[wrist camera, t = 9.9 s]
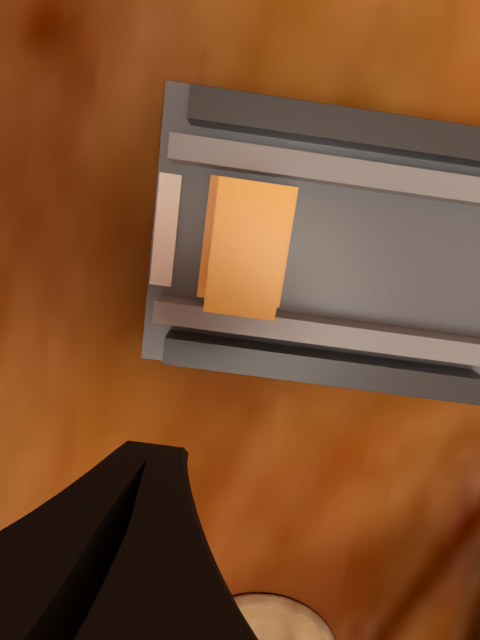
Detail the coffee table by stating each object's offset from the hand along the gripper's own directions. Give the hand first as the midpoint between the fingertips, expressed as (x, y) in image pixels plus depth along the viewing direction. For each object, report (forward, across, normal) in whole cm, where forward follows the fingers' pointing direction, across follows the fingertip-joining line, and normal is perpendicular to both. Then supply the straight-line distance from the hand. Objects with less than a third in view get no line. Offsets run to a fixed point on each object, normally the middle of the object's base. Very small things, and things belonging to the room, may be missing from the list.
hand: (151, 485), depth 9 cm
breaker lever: (+8, -1, -5) cm, 9 cm away
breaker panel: (+9, -5, -5) cm, 12 cm away
